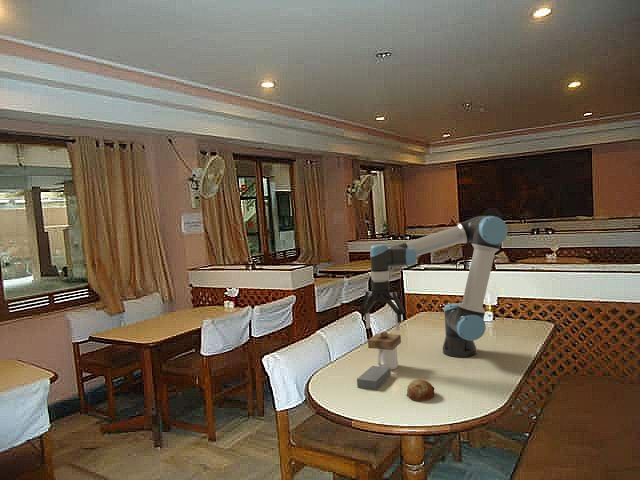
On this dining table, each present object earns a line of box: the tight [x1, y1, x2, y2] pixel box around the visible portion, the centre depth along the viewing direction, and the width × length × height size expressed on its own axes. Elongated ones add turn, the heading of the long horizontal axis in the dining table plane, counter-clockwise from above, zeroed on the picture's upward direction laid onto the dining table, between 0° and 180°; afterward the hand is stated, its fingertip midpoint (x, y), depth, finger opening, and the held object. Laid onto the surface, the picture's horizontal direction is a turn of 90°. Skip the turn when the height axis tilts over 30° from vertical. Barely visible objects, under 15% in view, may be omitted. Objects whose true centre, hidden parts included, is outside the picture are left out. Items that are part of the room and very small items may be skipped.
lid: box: [367, 331, 402, 350], centre depth 206 cm, size 11×11×6 cm
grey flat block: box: [356, 365, 392, 391], centre depth 192 cm, size 8×16×4 cm, turn 151°
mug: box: [376, 346, 399, 371], centre depth 206 cm, size 12×8×10 cm
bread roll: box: [406, 378, 435, 402], centre depth 175 cm, size 10×10×8 cm
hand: (382, 328), depth 205 cm, fingers open, 13 cm apart
